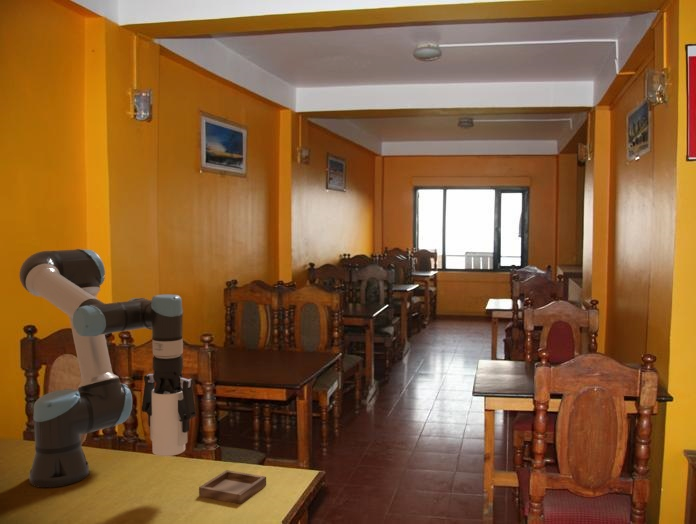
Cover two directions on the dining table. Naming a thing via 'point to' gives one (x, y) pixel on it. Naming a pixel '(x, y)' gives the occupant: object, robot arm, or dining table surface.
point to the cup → (165, 424)
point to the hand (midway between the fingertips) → (168, 441)
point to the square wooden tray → (232, 486)
